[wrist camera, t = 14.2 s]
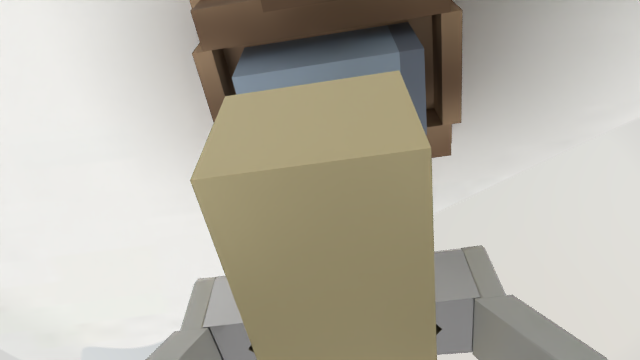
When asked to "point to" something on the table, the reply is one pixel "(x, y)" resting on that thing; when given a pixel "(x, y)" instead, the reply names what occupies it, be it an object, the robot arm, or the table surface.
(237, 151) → the pale yellow block
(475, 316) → the robot arm
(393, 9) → the frame
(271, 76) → the blue-grey block
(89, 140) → the table surface
